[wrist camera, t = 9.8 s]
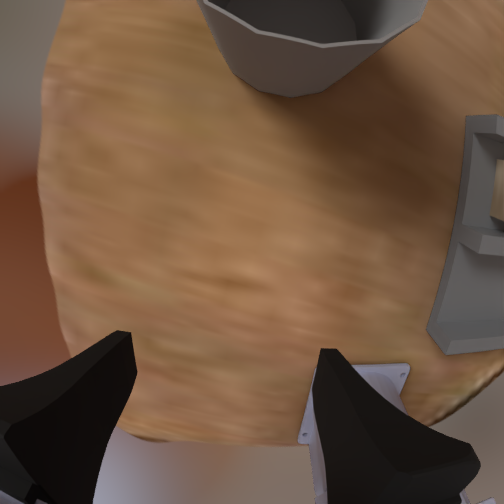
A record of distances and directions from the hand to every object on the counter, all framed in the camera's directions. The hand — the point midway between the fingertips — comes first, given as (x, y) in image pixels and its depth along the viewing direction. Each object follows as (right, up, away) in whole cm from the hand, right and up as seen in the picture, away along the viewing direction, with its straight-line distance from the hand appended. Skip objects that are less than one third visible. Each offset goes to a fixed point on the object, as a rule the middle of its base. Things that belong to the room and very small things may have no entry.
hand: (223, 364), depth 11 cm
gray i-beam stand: (+19, +5, +8) cm, 22 cm away
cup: (+3, +17, +4) cm, 18 cm away
